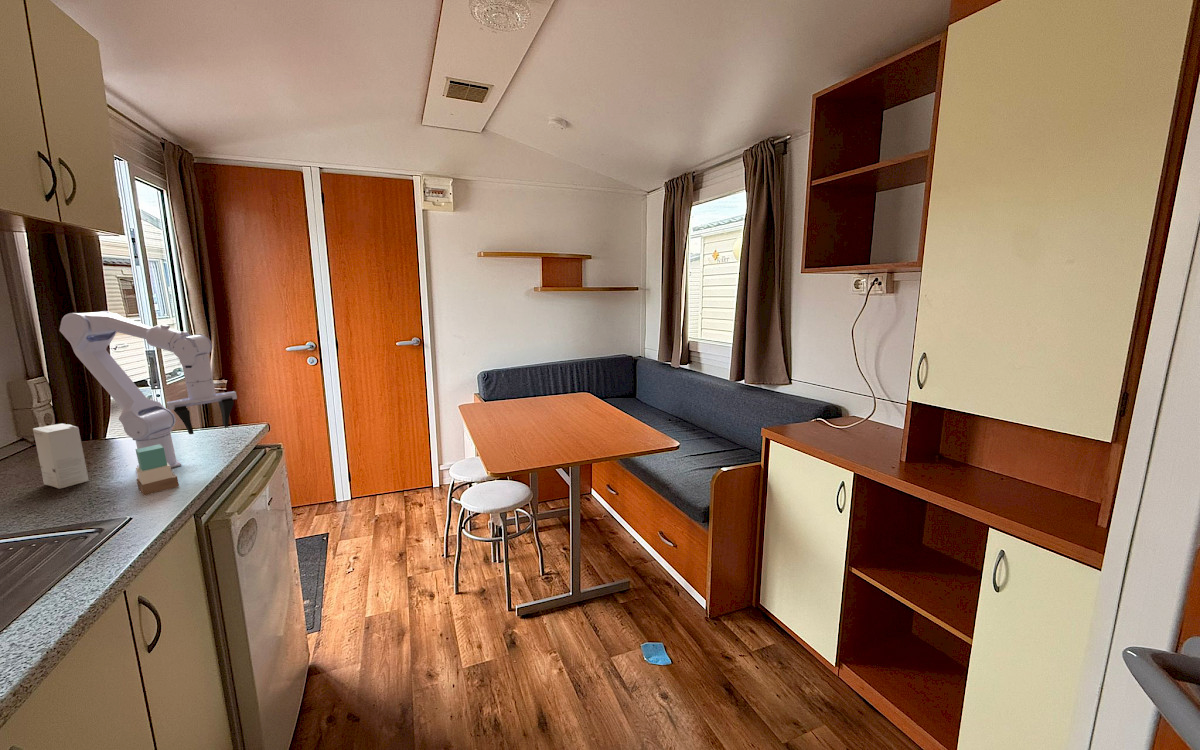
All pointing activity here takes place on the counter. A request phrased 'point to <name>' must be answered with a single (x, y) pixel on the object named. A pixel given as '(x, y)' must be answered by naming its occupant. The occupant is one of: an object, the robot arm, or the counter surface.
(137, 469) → the cream middle slab
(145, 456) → the teal block
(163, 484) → the walnut base slab
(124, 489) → the counter surface
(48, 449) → the skincare box
